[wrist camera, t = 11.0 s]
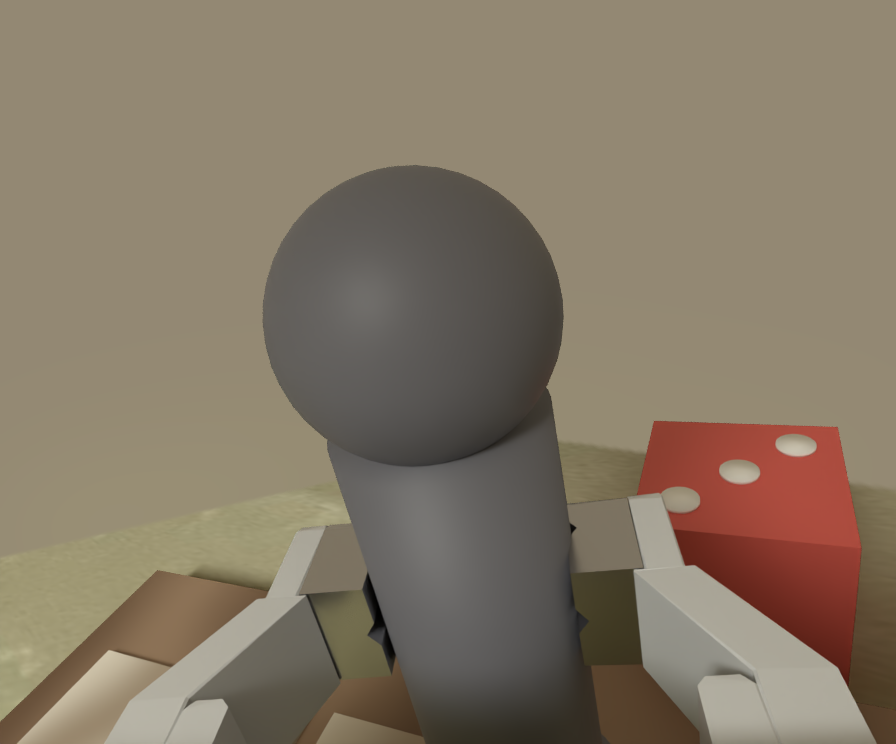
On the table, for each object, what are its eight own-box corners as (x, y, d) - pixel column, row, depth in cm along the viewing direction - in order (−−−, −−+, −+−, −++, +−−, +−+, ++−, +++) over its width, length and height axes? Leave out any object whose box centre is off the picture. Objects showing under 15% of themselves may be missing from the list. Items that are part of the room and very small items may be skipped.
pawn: (411, 907, 12) (127, 236, 6) (481, 722, 15) (329, 158, 9) (619, 994, 10) (478, 192, 5) (650, 766, 13) (585, 115, 8)
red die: (643, 660, 18) (629, 521, 16) (662, 542, 22) (653, 418, 20) (846, 698, 16) (861, 544, 14) (828, 560, 20) (837, 423, 18)
